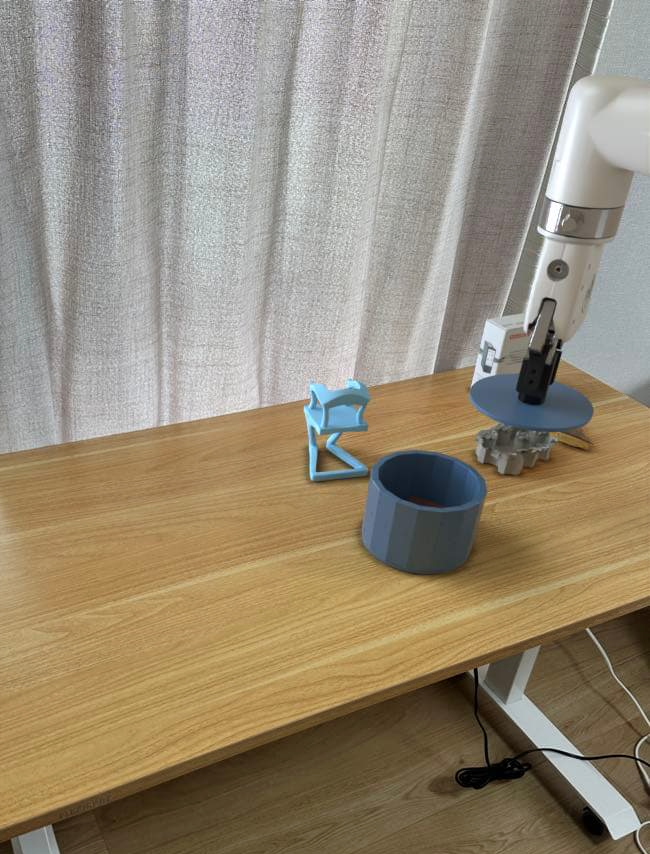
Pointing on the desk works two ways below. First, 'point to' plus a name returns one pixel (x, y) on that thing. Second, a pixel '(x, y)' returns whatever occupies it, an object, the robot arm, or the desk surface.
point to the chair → (336, 424)
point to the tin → (422, 511)
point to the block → (424, 502)
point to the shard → (573, 438)
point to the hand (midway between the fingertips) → (534, 386)
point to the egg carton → (513, 447)
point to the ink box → (502, 347)
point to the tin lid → (531, 404)
